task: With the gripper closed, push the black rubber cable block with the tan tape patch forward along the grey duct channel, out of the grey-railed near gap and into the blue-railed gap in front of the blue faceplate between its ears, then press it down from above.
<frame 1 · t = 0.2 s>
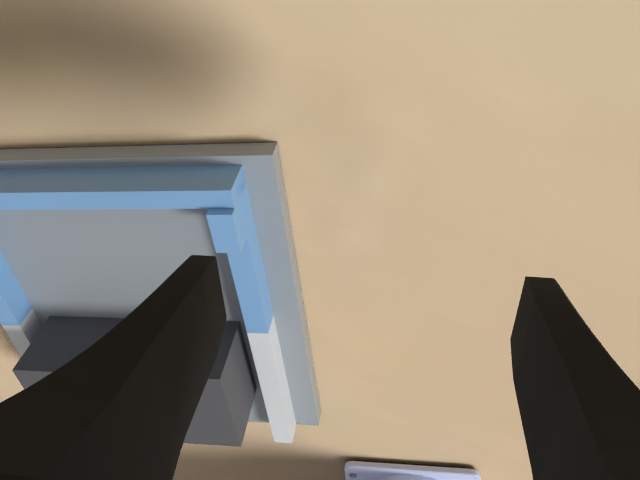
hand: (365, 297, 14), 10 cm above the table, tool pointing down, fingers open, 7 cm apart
cable block: (155, 352, 31), point 1 cm above the table, touching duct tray
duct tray: (146, 297, 30), on the table
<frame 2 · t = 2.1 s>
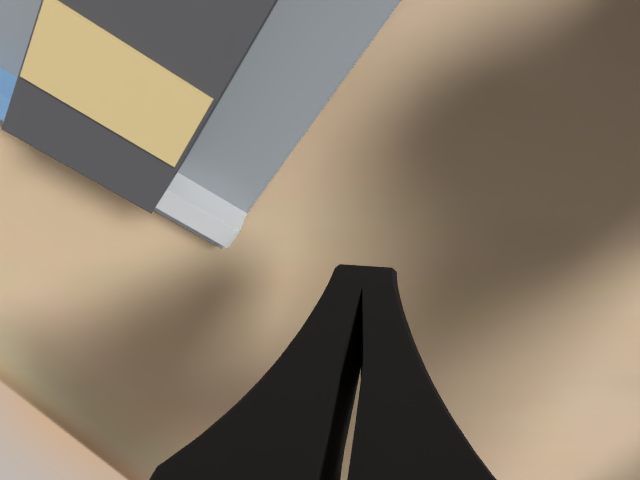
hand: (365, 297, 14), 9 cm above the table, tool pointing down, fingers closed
cable block: (179, 2, 18), point 1 cm above the table, touching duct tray
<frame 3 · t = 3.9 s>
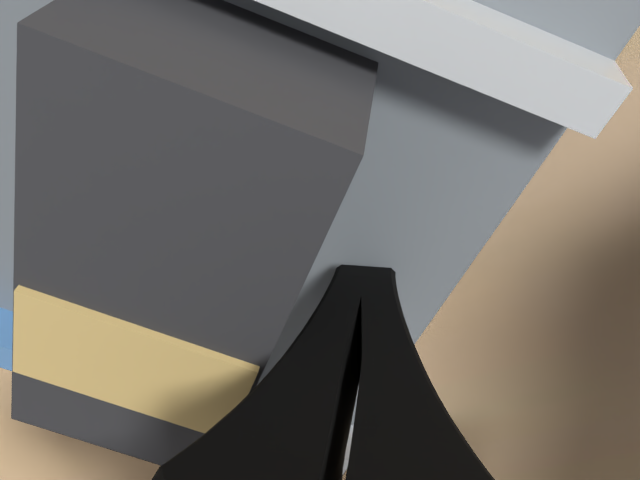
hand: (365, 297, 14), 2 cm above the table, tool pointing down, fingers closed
cable block: (198, 213, 14), point 1 cm above the table, touching gripper
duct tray: (125, 163, 15), on the table
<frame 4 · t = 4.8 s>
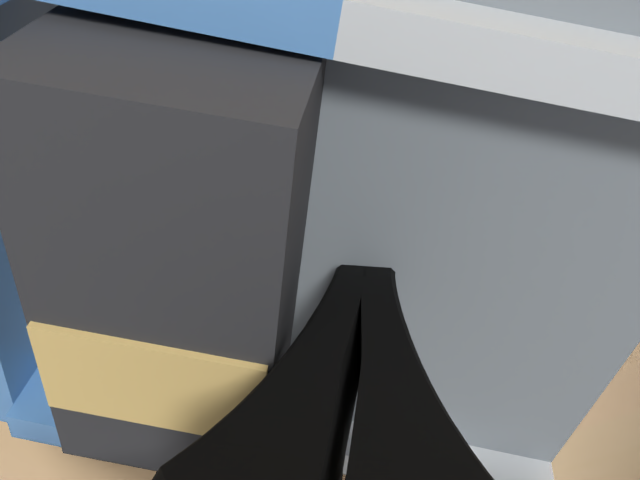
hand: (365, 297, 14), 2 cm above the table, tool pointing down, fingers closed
cable block: (200, 228, 14), point 1 cm above the table, touching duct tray, gripper
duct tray: (307, 240, 15), on the table
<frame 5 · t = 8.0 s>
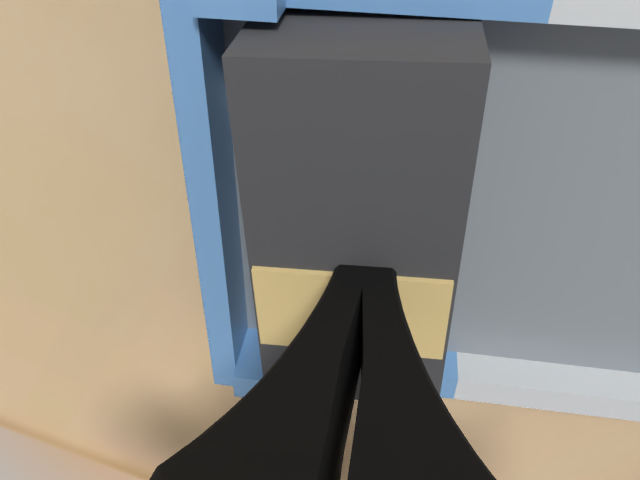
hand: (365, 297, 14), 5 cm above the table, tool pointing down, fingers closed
cable block: (363, 186, 17), point 1 cm above the table, touching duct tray
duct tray: (486, 196, 18), on the table
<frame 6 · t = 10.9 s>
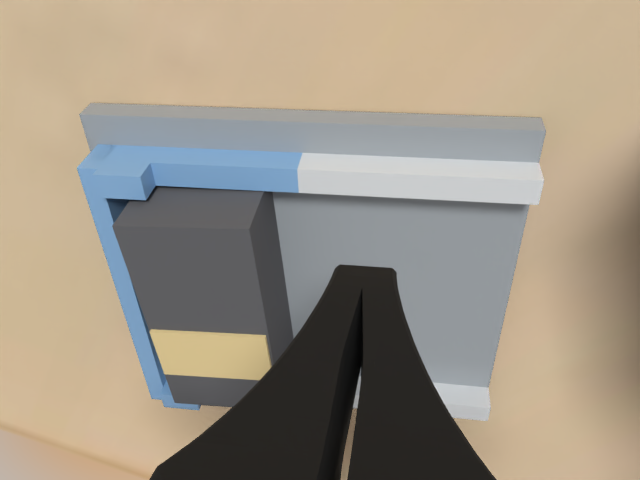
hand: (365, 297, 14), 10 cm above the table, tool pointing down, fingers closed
cable block: (229, 271, 26), point 1 cm above the table, touching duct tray
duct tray: (313, 272, 27), on the table
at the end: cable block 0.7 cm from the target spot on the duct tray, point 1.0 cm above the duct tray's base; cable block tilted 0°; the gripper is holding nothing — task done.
